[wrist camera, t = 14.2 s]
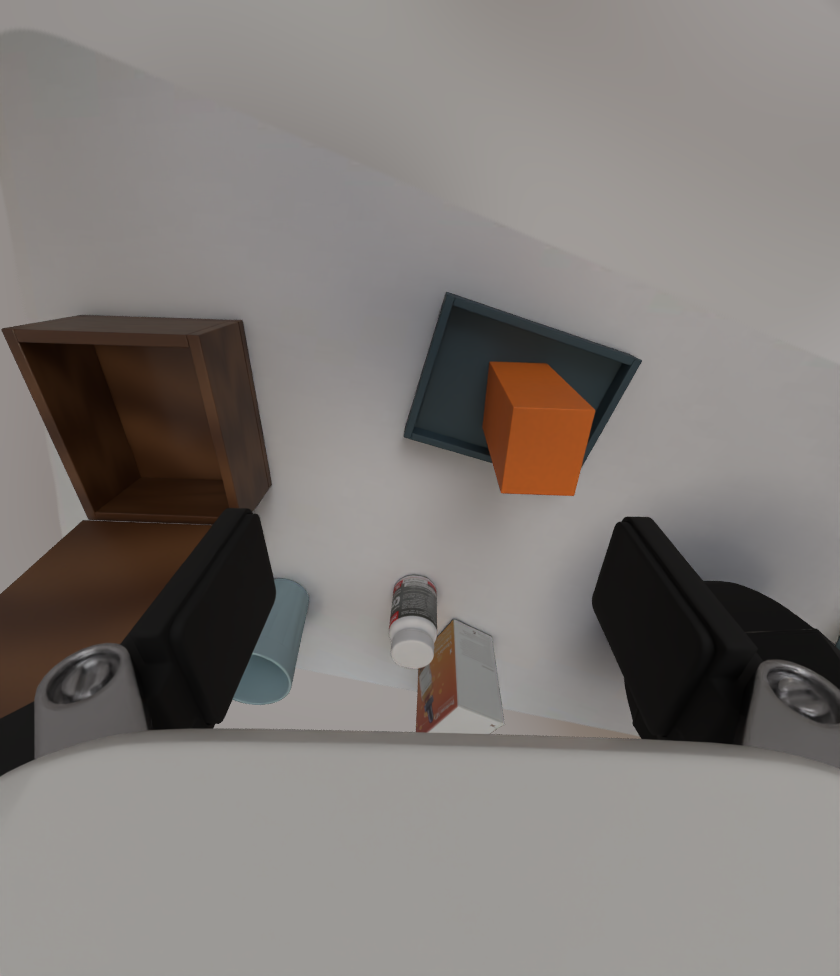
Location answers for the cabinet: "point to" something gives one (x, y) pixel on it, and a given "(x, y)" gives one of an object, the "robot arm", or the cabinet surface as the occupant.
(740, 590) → the table lamp
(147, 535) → the lid
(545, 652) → the cabinet surface
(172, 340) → the chest
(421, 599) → the pill bottle
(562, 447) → the block
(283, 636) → the cup
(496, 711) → the small box
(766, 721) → the robot arm
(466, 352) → the tray
